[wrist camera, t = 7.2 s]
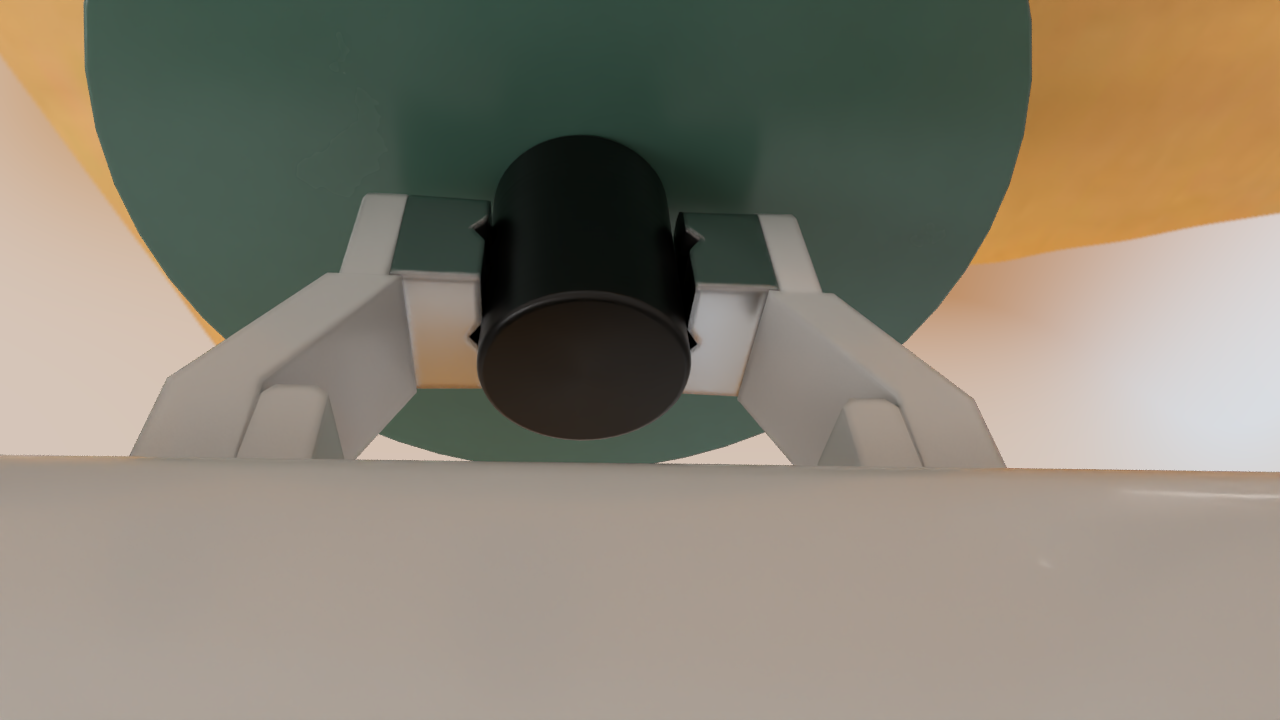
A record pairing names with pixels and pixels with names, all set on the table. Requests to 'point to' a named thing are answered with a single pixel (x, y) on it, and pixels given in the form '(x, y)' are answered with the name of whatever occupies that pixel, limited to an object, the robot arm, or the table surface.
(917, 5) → the dark green lid
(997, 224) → the table surface
